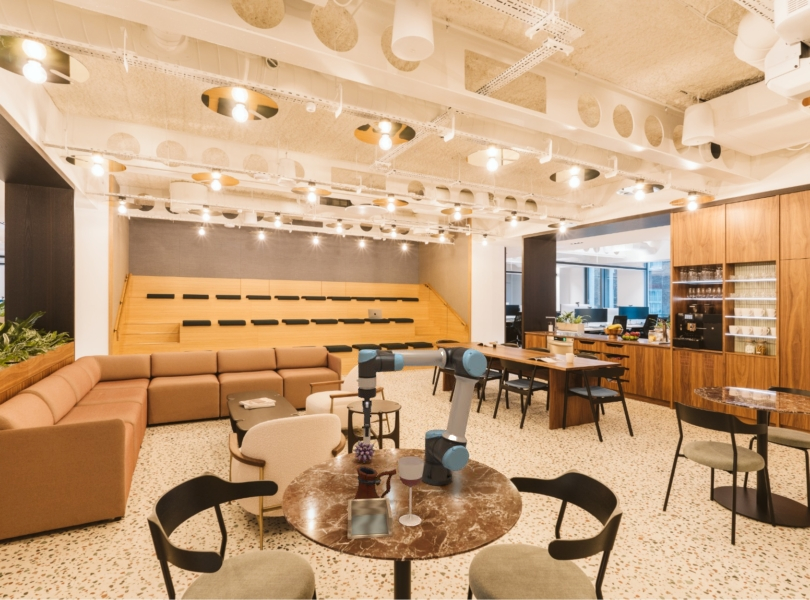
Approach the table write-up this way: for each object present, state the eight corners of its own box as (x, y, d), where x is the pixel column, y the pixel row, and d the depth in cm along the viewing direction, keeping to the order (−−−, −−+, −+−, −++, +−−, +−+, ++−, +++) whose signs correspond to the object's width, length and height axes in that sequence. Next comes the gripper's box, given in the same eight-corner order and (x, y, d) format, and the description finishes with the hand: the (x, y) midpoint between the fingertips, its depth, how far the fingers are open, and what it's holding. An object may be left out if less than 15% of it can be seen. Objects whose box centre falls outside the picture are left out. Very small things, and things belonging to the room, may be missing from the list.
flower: (350, 465, 212) (350, 442, 212) (356, 457, 224) (357, 435, 224) (372, 467, 210) (372, 444, 210) (377, 458, 222) (377, 436, 222)
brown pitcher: (395, 497, 178) (396, 462, 178) (396, 510, 166) (397, 473, 167) (353, 498, 177) (354, 463, 177) (352, 511, 165) (352, 474, 165)
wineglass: (396, 514, 163) (397, 456, 164) (421, 513, 164) (422, 456, 164) (398, 526, 154) (399, 465, 155) (424, 526, 155) (425, 465, 155)
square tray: (388, 515, 163) (388, 497, 163) (392, 536, 148) (392, 517, 148) (347, 517, 161) (348, 499, 161) (347, 539, 146) (347, 519, 146)
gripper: (358, 381, 182) (358, 429, 182) (357, 394, 157) (356, 449, 157) (375, 381, 183) (375, 429, 183) (376, 393, 158) (376, 449, 158)
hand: (366, 438), depth 170 cm, fingers open, 13 cm apart
